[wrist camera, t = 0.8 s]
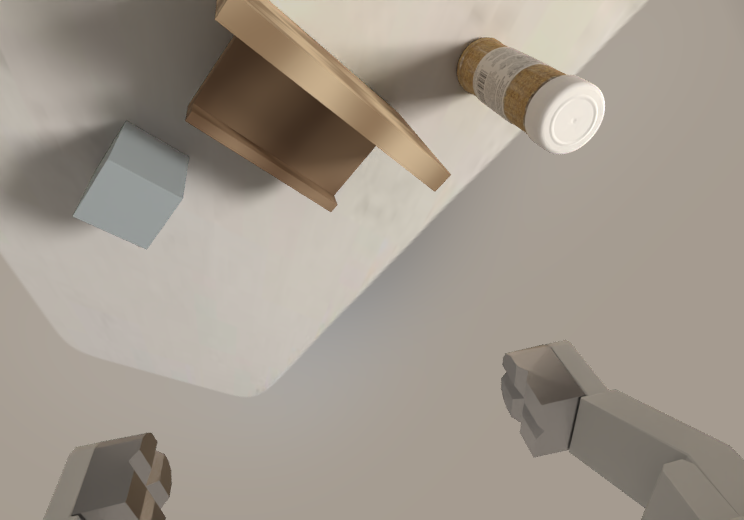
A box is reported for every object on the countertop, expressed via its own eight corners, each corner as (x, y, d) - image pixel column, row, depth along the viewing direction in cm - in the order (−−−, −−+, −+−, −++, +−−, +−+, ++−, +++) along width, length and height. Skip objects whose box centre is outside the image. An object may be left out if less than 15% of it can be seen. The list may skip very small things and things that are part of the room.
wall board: (165, 72, 33) (141, 135, 24) (230, -33, 31) (232, -9, 21) (335, 186, 42) (366, 265, 33) (397, 112, 39) (450, 174, 30)
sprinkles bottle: (496, 94, 41) (589, 158, 30) (448, 90, 39) (529, 155, 29) (512, 38, 38) (621, 86, 28) (462, 31, 37) (556, 79, 26)
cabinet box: (89, 180, 37) (65, 227, 31) (126, 120, 35) (107, 159, 29) (151, 211, 39) (140, 259, 34) (189, 157, 37) (182, 198, 32)
